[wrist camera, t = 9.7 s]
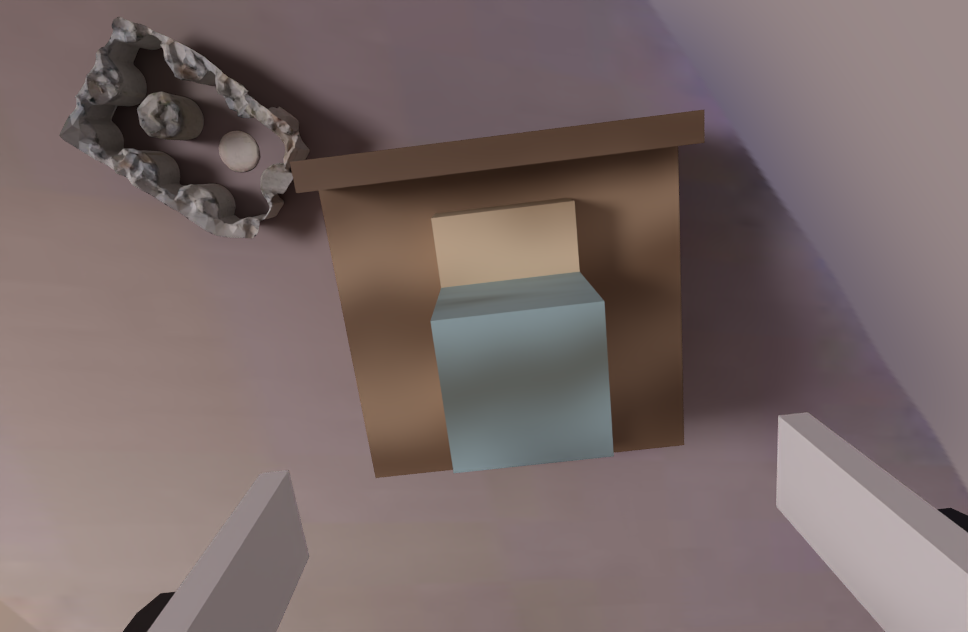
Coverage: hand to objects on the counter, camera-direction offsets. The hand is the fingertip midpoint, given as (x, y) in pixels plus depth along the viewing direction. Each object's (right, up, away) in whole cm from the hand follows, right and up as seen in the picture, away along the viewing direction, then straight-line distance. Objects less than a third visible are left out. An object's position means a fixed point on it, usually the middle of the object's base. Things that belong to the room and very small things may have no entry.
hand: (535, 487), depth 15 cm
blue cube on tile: (0, +4, +12) cm, 12 cm away
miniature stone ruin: (-17, +15, +16) cm, 27 cm away
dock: (0, +7, +18) cm, 19 cm away
